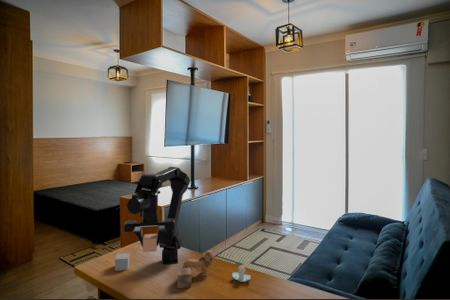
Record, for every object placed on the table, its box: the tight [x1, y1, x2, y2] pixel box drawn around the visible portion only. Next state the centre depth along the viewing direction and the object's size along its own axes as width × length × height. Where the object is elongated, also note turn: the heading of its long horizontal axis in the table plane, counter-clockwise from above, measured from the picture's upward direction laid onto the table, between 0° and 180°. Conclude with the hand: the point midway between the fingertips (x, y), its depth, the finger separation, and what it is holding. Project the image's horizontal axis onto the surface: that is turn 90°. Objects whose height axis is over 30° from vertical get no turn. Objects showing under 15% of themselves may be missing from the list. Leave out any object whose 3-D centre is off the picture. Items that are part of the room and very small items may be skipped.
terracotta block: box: [142, 233, 158, 253], centre depth 106 cm, size 5×5×5 cm
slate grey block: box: [114, 252, 130, 272], centre depth 115 cm, size 5×5×5 cm
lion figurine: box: [182, 250, 215, 279], centre depth 110 cm, size 15×5×9 cm, turn 114°
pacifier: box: [232, 265, 251, 283], centre depth 108 cm, size 7×6×6 cm
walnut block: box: [176, 267, 193, 289], centre depth 104 cm, size 5×5×5 cm
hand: (150, 246), depth 106 cm, fingers closed on terracotta block, 5 cm apart
